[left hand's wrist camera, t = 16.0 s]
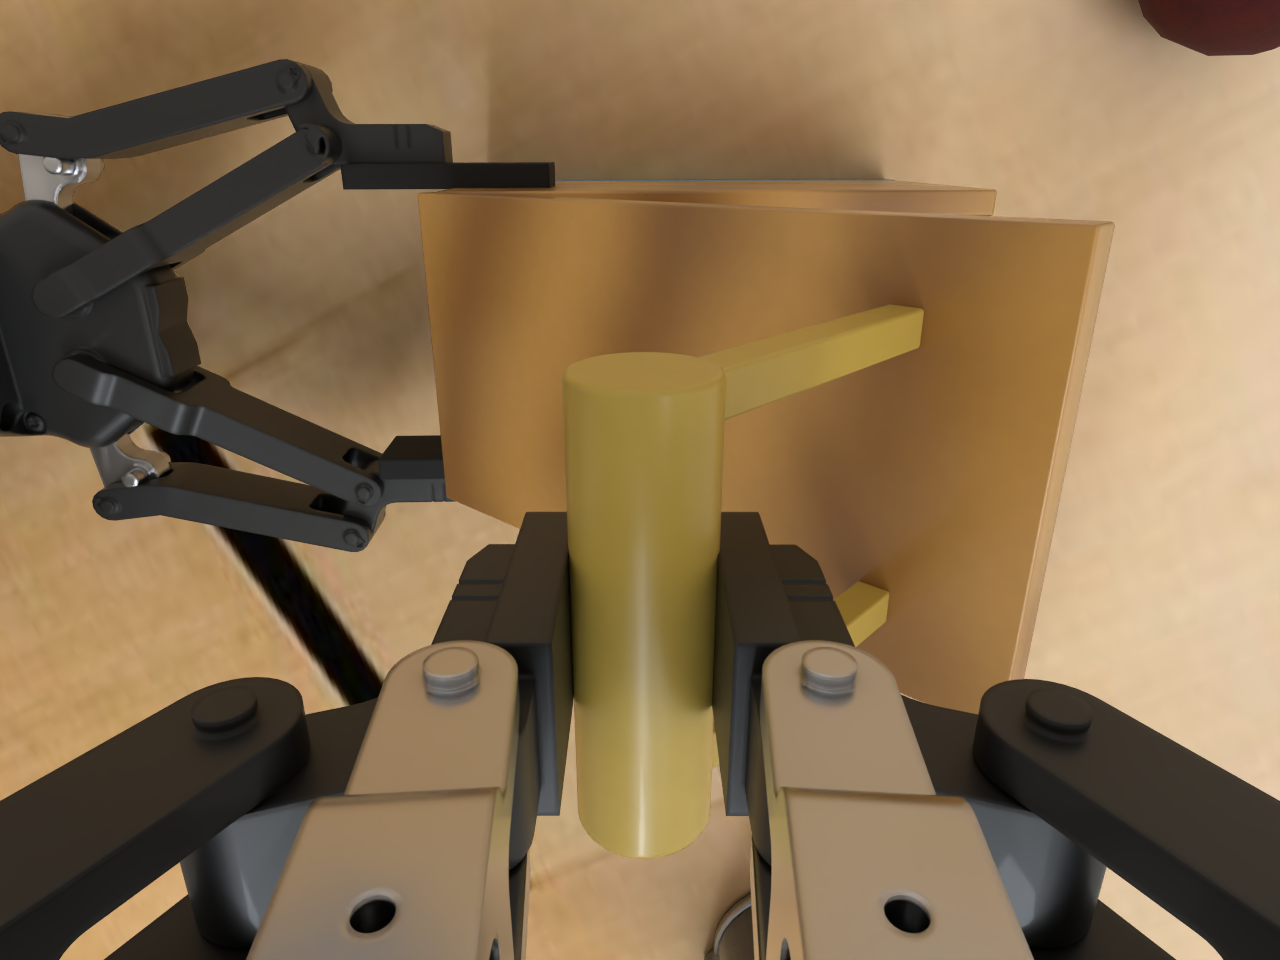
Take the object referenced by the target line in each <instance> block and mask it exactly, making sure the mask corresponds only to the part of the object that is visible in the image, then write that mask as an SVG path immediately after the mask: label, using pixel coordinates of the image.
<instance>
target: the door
mask: <svg viewBox="0 0 1280 960" xmlns="http://www.w3.org/2000/svg"><path fill="white" fill-rule="evenodd" d="M418 202H419V212H420V223H421V233H422V244H423V254H424V265H425V275H426V286H427V296H428V307H429V317H430V328H431V338H432V349H433V359H434V370H435V380H436V391H437V401H438V412H439V422H440V432H441V443H442V453H443V464H444V474H445V485H446V495H447V498H450V499H452V500H454V501H457V502H459V503H461V504H464V505H466V506H468V507H471V508H473V509H475V510H478V511H480V512H482V513H485V514H487V515H489V516H492V517H494V518H496V519H499V520H501V521H503V522H505V523H508V524H510V525H512V526H515V527H517V528H519V529H520V528H521V525H522V522H523V519H524V516H525V513H526V512H567V528H568V550H569V577H570V604H571V631H572V658H573V685H574V714H575V740H576V767H577V793H578V814H579V818H580V821H581V823H582V825H583V827H584V829H585V830H586V832H587V833H588V835H589V836H590V837H591V838H592V839H593V840H594V841H595V842H596V843H597V844H599V845H600V846H602V847H603V848H605V849H606V850H609V851H611V852H613V853H615V854H618V855H621V856H626V857H630V858H641V859H649V858H658V857H663V856H667V855H670V854H673V853H676V852H678V851H680V850H682V849H684V848H685V847H687V846H689V845H690V844H691V843H692V842H693V841H695V840H696V838H697V837H698V836H699V835H700V834H701V832H702V831H703V829H704V828H705V826H706V824H707V822H708V819H709V815H710V801H711V774H712V769H713V768H714V767H715V766H716V765H718V764H719V756H718V748H717V741H716V733H715V725H714V717H713V710H712V692H713V666H714V640H715V613H716V587H717V560H718V554H719V551H720V533H721V512H759V514H760V517H761V520H762V523H763V526H764V529H765V532H766V535H767V538H768V541H769V544H785V545H797V546H798V547H800V548H801V549H802V550H804V551H805V552H806V553H808V554H809V555H810V556H812V557H813V558H814V559H816V560H817V561H818V563H819V565H820V568H821V570H822V572H823V574H824V577H825V579H826V584H828V586H829V588H830V590H831V593H832V595H833V601H835V602H836V604H837V606H838V609H839V611H840V613H841V615H842V618H843V620H844V622H845V625H846V627H847V629H848V631H849V634H850V636H851V638H852V641H853V643H854V645H855V647H856V648H859V649H861V650H864V651H866V652H868V653H870V654H872V655H873V656H875V657H876V658H878V659H879V660H880V661H882V662H883V663H884V664H885V665H886V666H887V667H888V668H889V670H890V671H891V672H892V674H893V676H894V678H895V680H896V683H897V686H898V689H899V692H901V693H903V694H905V695H907V696H910V697H912V698H914V699H917V700H919V701H921V702H924V703H926V704H930V705H934V706H939V707H944V708H949V709H954V710H959V711H964V712H968V713H973V714H978V713H979V708H980V702H981V698H982V696H983V694H984V693H985V692H986V691H987V690H988V689H989V688H990V687H992V686H994V685H996V684H998V683H1001V682H1004V681H1010V680H1016V679H1024V675H1025V670H1026V665H1027V660H1028V656H1029V651H1030V646H1031V641H1032V636H1033V631H1034V626H1035V621H1036V616H1037V611H1038V606H1039V601H1040V596H1041V591H1042V586H1043V581H1044V576H1045V571H1046V566H1047V561H1048V556H1049V551H1050V546H1051V541H1052V536H1053V531H1054V526H1055V521H1056V516H1057V511H1058V506H1059V501H1060V496H1061V491H1062V486H1063V481H1064V476H1065V471H1066V466H1067V461H1068V456H1069V451H1070V446H1071V441H1072V436H1073V431H1074V426H1075V421H1076V416H1077V411H1078V406H1079V401H1080V396H1081V391H1082V386H1083V381H1084V376H1085V371H1086V366H1087V361H1088V356H1089V351H1090V346H1091V341H1092V336H1093V331H1094V327H1095V322H1096V317H1097V312H1098V307H1099V302H1100V297H1101V292H1102V287H1103V282H1104V277H1105V272H1106V267H1107V262H1108V257H1109V252H1110V247H1111V242H1112V237H1113V232H1114V227H1115V226H1114V223H1113V222H1108V221H1085V220H1063V219H1040V218H1018V217H995V216H973V215H950V214H928V213H905V212H882V211H860V210H837V209H815V208H792V207H770V206H747V205H725V204H702V203H680V202H657V201H635V200H612V199H590V198H567V197H545V196H522V195H500V194H477V193H454V192H431V193H419V194H418Z"/></svg>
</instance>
